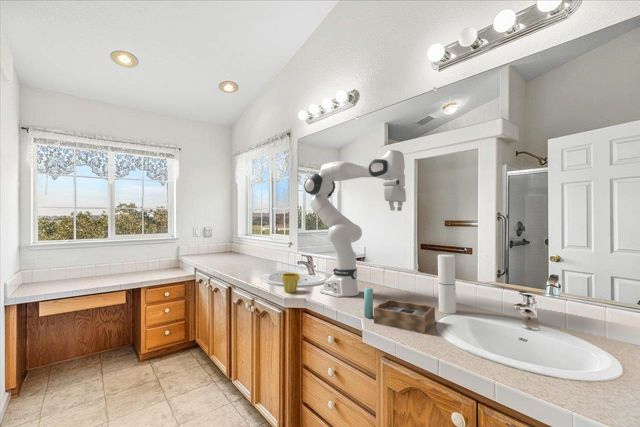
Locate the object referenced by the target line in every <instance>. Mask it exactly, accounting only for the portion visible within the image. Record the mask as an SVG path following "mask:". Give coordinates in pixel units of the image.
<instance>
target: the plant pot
mask: <svg viewBox="0 0 640 427" xmlns="http://www.w3.org/2000/svg"><path fill="white" fill-rule="evenodd" d="M281 281H282V284H283V289H284V292H285V293H287V292H288V293H289V294H290V293H291V294H292V293H296V292H297V289H298V284H299V281H300V274H299V273H295V272H287V273H282V274H281Z"/></svg>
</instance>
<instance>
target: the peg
mask: <svg viewBox="0 0 640 427" xmlns="http://www.w3.org/2000/svg"><path fill="white" fill-rule="evenodd" d="M373 290H374V289H373V288H372V287H365V288H363V293H364V294H363V297H364V298H363V300H364V301H363V303H364V304H363V305H364V313H363V314H364V318H365V319H372V318H373V319H374V297H373V296H374V294H373V292H374V291H373Z"/></svg>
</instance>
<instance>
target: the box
mask: <svg viewBox="0 0 640 427" xmlns="http://www.w3.org/2000/svg"><path fill="white" fill-rule="evenodd" d="M435 322H436V306H434V305H433V306H432V305H426V304H421V303H415V302H407V301H402V300H394V299H387V300H385V301H383V302H381V303H380V304H378V305H376V306H375V307H373V323H374V324H377V325H382V326H387V327H393V328H398V329H400V330H401V329H402V330H407V331H411V332H416V333H420V334H425V333H426V332H427V331H428V330H429V329H430V328H431V327H432V326H433V325H434V323H435Z"/></svg>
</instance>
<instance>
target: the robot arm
mask: <svg viewBox="0 0 640 427" xmlns="http://www.w3.org/2000/svg"><path fill="white" fill-rule="evenodd" d="M405 167H406V164H405V156H404V153H403V152H401V151H400V150H394V149H393V150H388V151H386V153H385V154H384V155H382V156H380V157H378V158H376V159H372V160H371V162H370V163H369V165H360V164H356V163H352V162H351V161H350V162H349V161H343V160H341V161H340V160H339V161H338V160H337V161H332V162H331V161H330V162H327V163H324V164H322V166H321V167H320V171H319V173H314V174H312V175H311V176H309V177H308V178H306V179H305V180H304V185H303V188H304V191H305V192H306V193H307V194H309V195H312V196H313V197H311V199H310V202H309V205H310V207H311V209H312V210H313V211H314V213H315V215H316V216H317V217H318V218H319V219H320V221H321V222H322V223H323V224H324V225H325V226H326V227H327V228H329V229H328V233H327V236H328V239H329V242H331V243H332V246H333V249H334V251H335V252H334V253H335V263H336V265H335V266H336V267H335V268H334V269H332V270H331V271H332V272H333V274H332V275H331V276H330V277H329V278H327V279H326V280H325V281H324V285H323V288H321V289H320V290H319V293H320V294H324V295H328V296H332V297H337V298H341V297H354V296H358V295H360V291H359V288H358V280H357V279H358V269H357V262H356V261H357V257H356V252H354V251H355V250H353V246H352V243H355V242H357V241H359V240H360V239H361V238H362V235H363V230H362V228H361V227H360V226H359V224H358V225H357V224H356V223H354V222H352V221H351V220H350V219H349V218H347V217H346V216H345V215H344V214H342V213H341V212H340V211H339V210H338V208H336V207H335V206H334V205H333V203H332V202H331V201H330V200H329V198H331V197H332V194H333V193H335V190H336V183H335V182H340V181H341V182H344V181H349V180H353V179H360V178H376V179H381V180H384V181H383V182H382V185H383V195H384V200H385V202H388V205H389V210H390V211H391V212H393V211H394V212H395V210H397V211H398V212H402V211H403V210H402V207H403V203H405V202H406V201H407V192H406V187H405V186H406V182H405V181H406V175H405ZM395 203H397V208H396V207H395V205H394V204H395Z"/></svg>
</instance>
